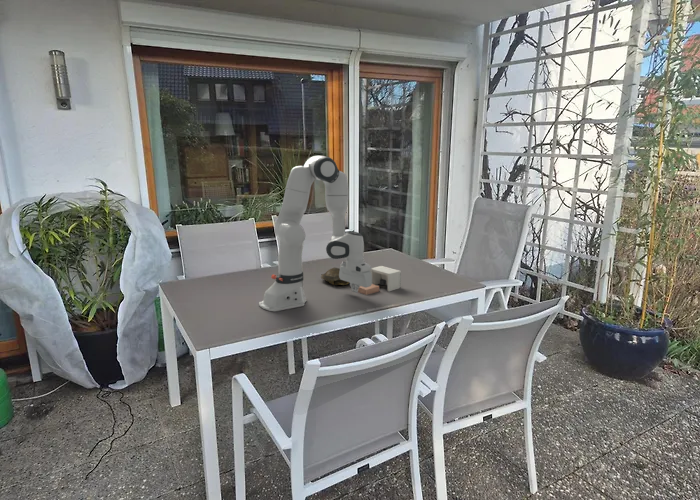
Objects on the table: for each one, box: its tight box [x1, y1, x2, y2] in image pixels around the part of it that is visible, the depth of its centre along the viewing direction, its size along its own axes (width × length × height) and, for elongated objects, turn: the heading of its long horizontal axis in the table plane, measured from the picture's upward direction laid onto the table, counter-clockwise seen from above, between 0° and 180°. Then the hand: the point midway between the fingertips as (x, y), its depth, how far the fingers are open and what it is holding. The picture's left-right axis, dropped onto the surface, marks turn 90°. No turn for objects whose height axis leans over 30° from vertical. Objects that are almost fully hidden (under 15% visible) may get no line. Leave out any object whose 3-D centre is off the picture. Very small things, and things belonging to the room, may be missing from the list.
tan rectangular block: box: [357, 284, 380, 296], centre depth 224 cm, size 9×6×3 cm
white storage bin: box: [370, 265, 402, 292], centre depth 231 cm, size 8×14×9 cm, turn 42°
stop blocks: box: [379, 279, 386, 286], centre depth 233 cm, size 2×10×2 cm, turn 42°
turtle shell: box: [320, 267, 350, 286], centre depth 241 cm, size 16×9×20 cm
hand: (354, 291), depth 218 cm, fingers closed
